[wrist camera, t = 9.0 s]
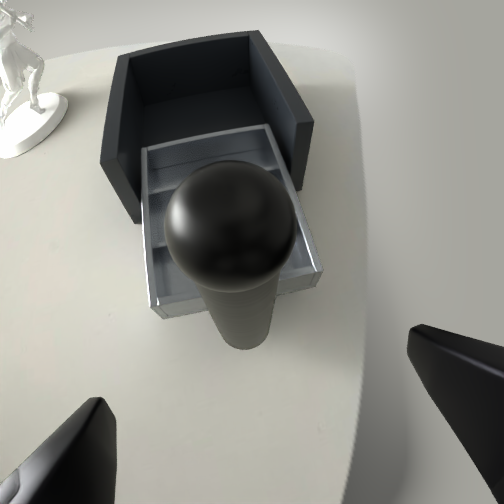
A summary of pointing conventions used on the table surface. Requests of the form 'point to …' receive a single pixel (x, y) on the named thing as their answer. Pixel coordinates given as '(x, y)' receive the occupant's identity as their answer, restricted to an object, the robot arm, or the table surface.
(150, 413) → the table surface
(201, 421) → the table surface
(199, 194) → the pull-out drawer
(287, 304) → the table surface
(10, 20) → the figurine
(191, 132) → the grey drawer case
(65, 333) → the table surface
